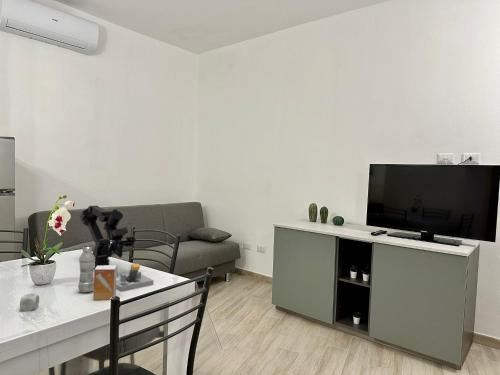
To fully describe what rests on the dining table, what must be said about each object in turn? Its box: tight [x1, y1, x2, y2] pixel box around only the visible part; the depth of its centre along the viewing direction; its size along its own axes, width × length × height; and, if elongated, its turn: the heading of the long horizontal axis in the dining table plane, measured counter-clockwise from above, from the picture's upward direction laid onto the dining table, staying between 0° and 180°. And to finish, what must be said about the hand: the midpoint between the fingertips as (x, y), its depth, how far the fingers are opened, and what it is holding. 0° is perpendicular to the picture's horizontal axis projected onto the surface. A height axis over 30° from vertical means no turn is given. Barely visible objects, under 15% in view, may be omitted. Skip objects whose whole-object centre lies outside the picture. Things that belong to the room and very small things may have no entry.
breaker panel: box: [116, 270, 154, 293], centre depth 164 cm, size 14×16×5 cm
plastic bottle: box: [77, 245, 95, 293], centre depth 151 cm, size 6×7×20 cm
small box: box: [92, 264, 118, 301], centre depth 146 cm, size 8×6×13 cm
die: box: [19, 293, 40, 312], centre depth 131 cm, size 5×5×5 cm
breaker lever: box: [126, 262, 141, 283], centre depth 162 cm, size 2×4×10 cm, turn 135°
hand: (121, 257), depth 171 cm, fingers closed
